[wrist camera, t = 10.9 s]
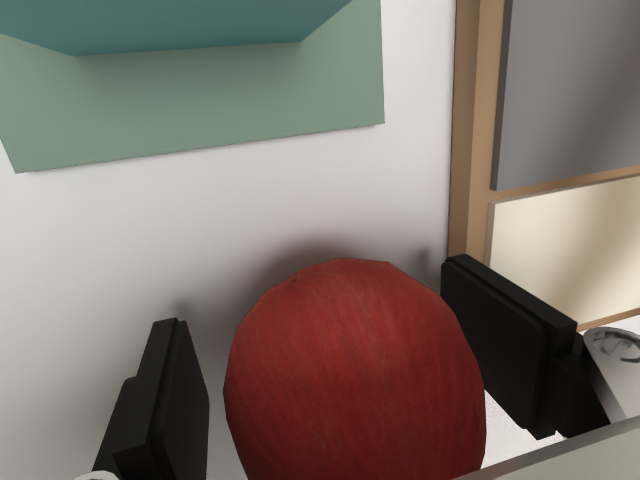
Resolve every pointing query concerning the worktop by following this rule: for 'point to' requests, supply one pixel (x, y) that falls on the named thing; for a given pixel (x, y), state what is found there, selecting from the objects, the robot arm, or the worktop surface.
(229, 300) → the worktop surface
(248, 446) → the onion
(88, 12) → the die
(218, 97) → the mat
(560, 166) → the board
